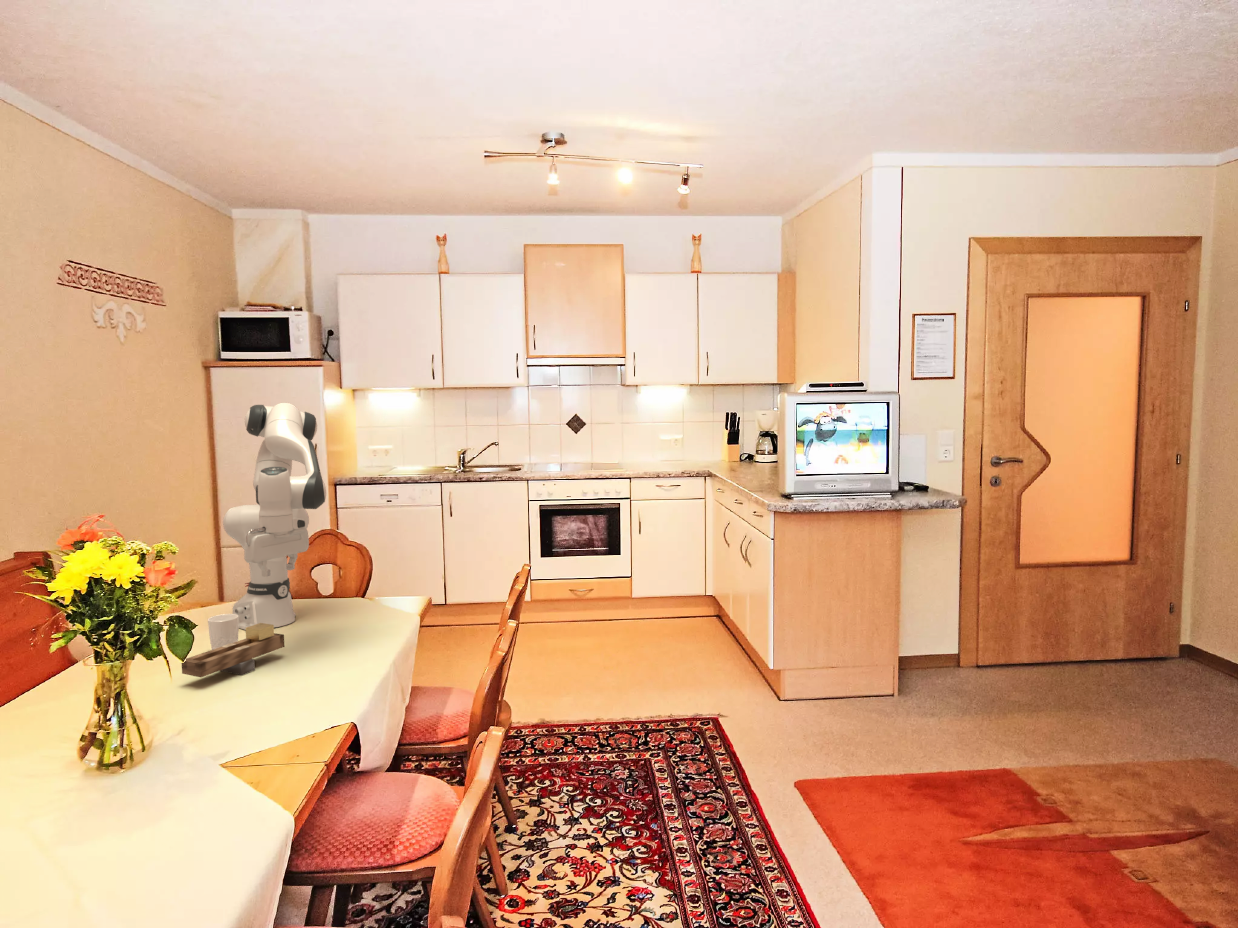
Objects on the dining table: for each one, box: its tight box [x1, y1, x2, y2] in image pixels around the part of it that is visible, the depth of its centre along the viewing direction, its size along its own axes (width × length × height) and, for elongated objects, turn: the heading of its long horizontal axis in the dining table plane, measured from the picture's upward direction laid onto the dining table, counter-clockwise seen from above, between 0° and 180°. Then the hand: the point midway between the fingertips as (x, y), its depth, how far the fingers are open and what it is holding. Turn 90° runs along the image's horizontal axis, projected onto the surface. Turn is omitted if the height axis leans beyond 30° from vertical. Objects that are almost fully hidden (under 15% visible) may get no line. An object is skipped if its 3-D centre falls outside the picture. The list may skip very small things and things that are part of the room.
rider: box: [245, 623, 275, 643], centre depth 212 cm, size 5×5×5 cm
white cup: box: [207, 613, 240, 650], centre depth 221 cm, size 8×8×10 cm
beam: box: [181, 632, 286, 678], centre depth 205 cm, size 26×9×7 cm, turn 156°
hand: (278, 572), depth 217 cm, fingers open, 7 cm apart
